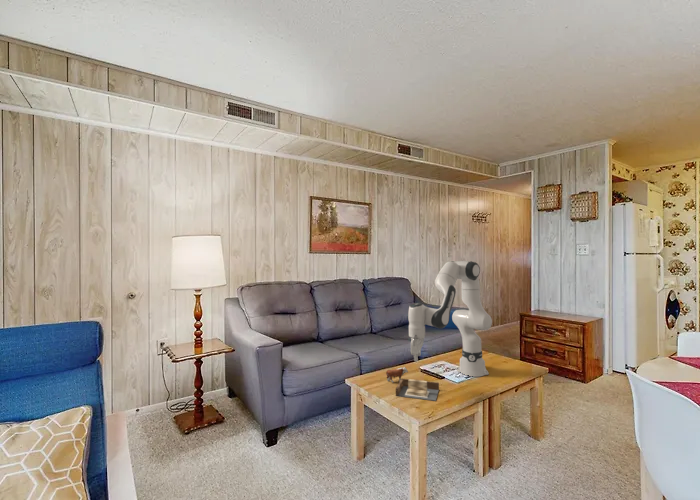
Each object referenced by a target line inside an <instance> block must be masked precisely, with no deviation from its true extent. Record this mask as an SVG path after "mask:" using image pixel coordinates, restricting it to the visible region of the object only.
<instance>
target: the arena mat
mask: <svg viewBox="0 0 700 500" xmlns="http://www.w3.org/2000/svg"><path fill="white" fill-rule="evenodd" d="M407 390H408V386H403V387H402V389H401V391H400V393H399V395H398V396H397V395H396V394H395V397H401V398H408V399H415V400H416V399H417V400H423V401H430V402H431V401H432V402H436V401H437V398H438V396H439V395H438V394H439V391H440V389H439V390H435V389H427V394H426V397H425V396H417V395H409V394H407Z"/></svg>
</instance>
